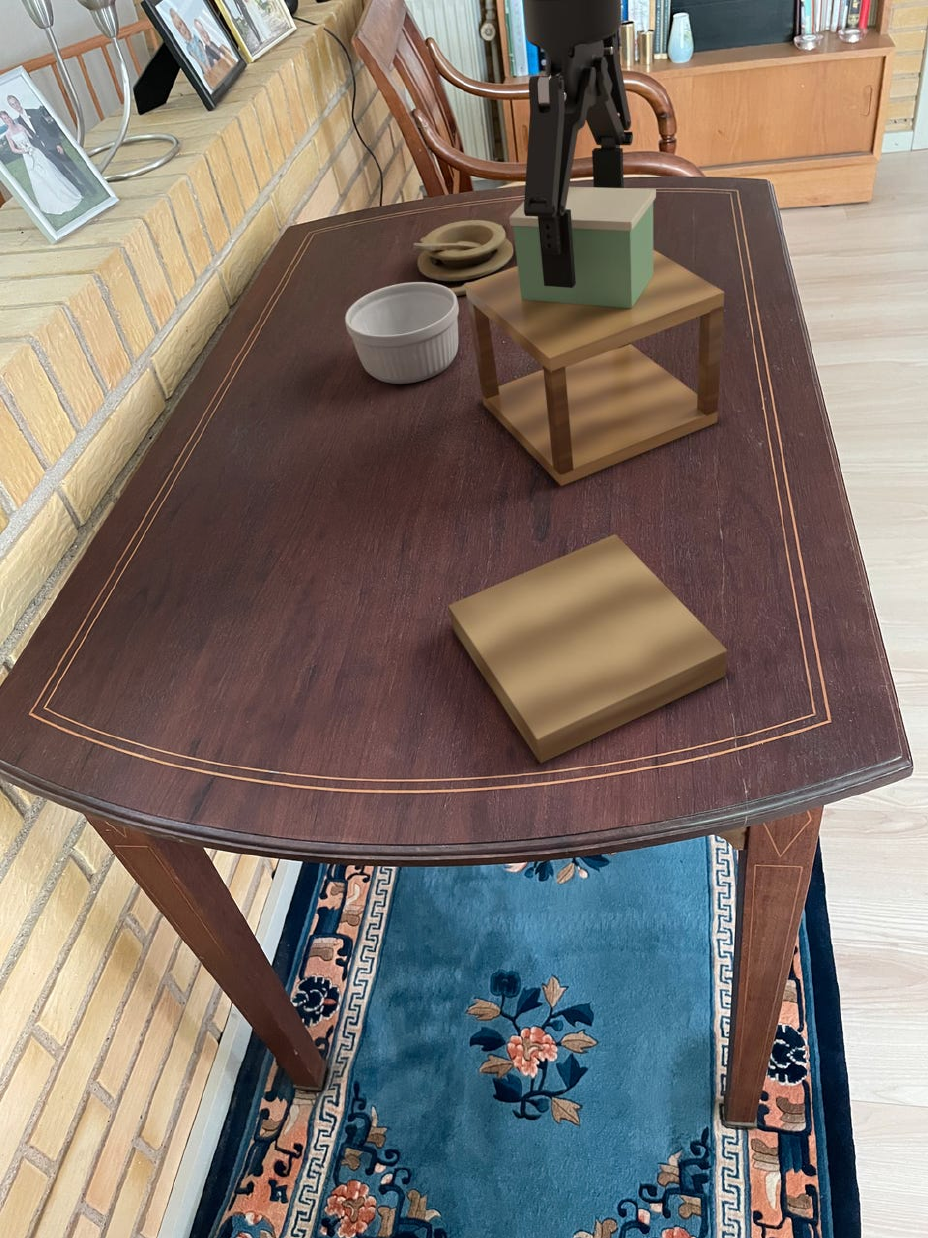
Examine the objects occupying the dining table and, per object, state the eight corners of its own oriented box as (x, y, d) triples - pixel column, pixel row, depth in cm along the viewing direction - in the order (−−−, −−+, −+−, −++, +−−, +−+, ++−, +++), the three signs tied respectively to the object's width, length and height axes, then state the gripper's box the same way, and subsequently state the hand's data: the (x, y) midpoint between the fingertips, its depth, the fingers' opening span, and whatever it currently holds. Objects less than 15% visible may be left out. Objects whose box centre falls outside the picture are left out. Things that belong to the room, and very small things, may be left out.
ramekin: (440, 322, 117) (431, 269, 112) (484, 365, 107) (475, 310, 103) (344, 357, 114) (330, 304, 109) (380, 404, 105) (366, 349, 100)
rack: (717, 422, 93) (724, 291, 83) (561, 486, 89) (549, 358, 80) (623, 350, 105) (620, 229, 95) (483, 404, 102) (464, 284, 92)
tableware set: (421, 303, 121) (412, 259, 117) (417, 241, 135) (409, 200, 131) (646, 264, 119) (645, 218, 115) (618, 206, 133) (617, 163, 129)
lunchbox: (656, 274, 87) (656, 188, 82) (633, 310, 83) (631, 222, 78) (545, 267, 92) (538, 185, 86) (518, 300, 88) (508, 216, 82)
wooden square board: (725, 676, 70) (727, 650, 68) (540, 764, 67) (536, 739, 65) (616, 559, 81) (615, 533, 79) (453, 630, 78) (447, 605, 76)
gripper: (581, -60, 79) (593, 194, 94) (456, 29, 64) (495, 313, 79) (666, -68, 76) (665, 196, 91) (556, 24, 61) (576, 320, 76)
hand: (586, 251), depth 85 cm, fingers open, 12 cm apart
